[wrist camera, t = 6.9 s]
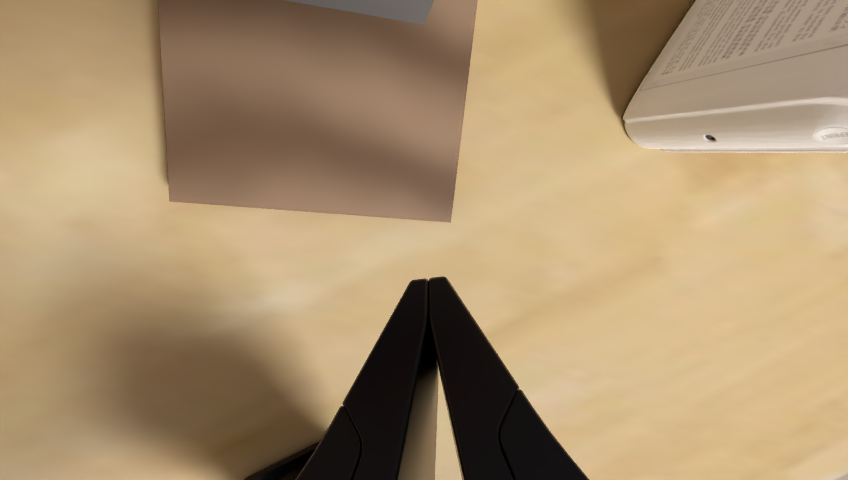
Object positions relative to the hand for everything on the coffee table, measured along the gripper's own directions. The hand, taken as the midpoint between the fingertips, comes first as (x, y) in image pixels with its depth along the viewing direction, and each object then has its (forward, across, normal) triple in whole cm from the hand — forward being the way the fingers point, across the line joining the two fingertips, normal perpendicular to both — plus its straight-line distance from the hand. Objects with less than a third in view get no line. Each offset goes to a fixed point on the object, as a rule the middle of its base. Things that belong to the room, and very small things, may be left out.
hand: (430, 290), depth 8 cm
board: (+14, +4, -4) cm, 15 cm away
